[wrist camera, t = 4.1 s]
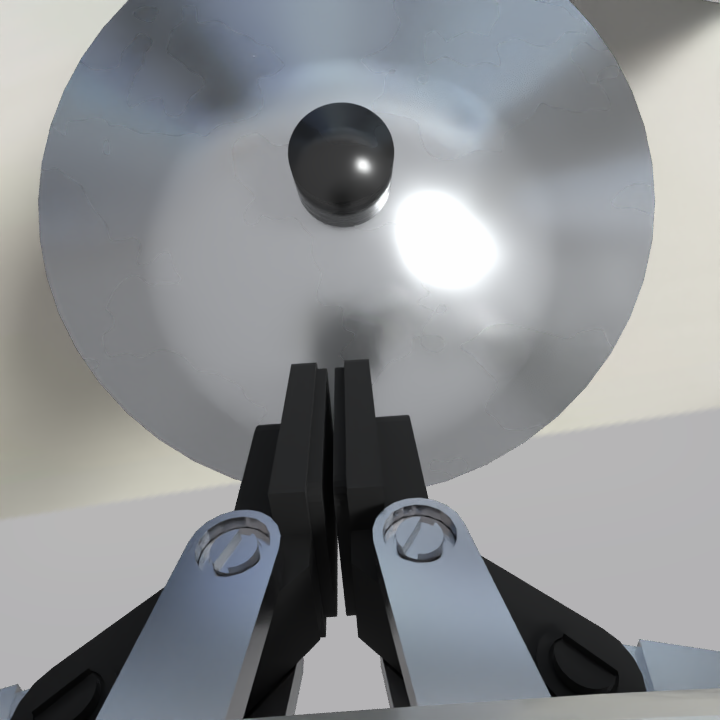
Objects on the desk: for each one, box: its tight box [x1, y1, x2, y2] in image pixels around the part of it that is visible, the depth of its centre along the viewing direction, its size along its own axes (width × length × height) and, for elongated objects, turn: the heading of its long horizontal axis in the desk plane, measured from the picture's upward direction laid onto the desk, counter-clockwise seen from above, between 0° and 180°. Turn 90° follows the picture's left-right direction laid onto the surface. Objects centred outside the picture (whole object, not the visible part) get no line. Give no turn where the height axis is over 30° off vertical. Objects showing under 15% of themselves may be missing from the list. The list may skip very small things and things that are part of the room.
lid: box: [38, 0, 655, 486], centre depth 12 cm, size 16×16×3 cm
